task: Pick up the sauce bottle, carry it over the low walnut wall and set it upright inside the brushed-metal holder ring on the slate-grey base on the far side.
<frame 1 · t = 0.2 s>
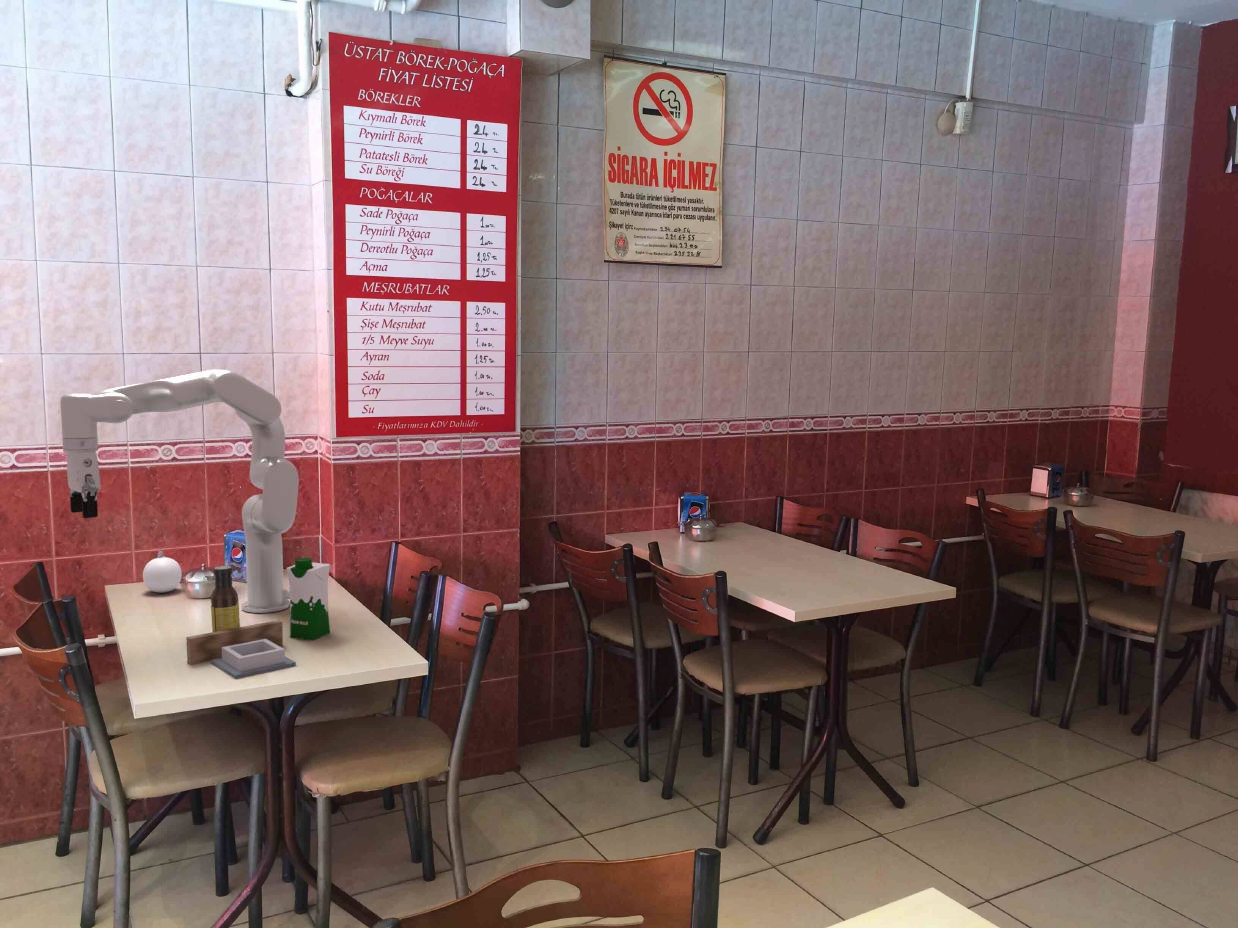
hand: (84, 514, 243), 31 cm above the table, tool pointing down, fingers open, 9 cm apart
ornament: (163, 592, 292), on the table
holder: (253, 664, 229), on the table
walnut wall: (236, 653, 237), on the table
sauce bottle: (226, 648, 241), on the table
milk carton: (310, 635, 252), on the table
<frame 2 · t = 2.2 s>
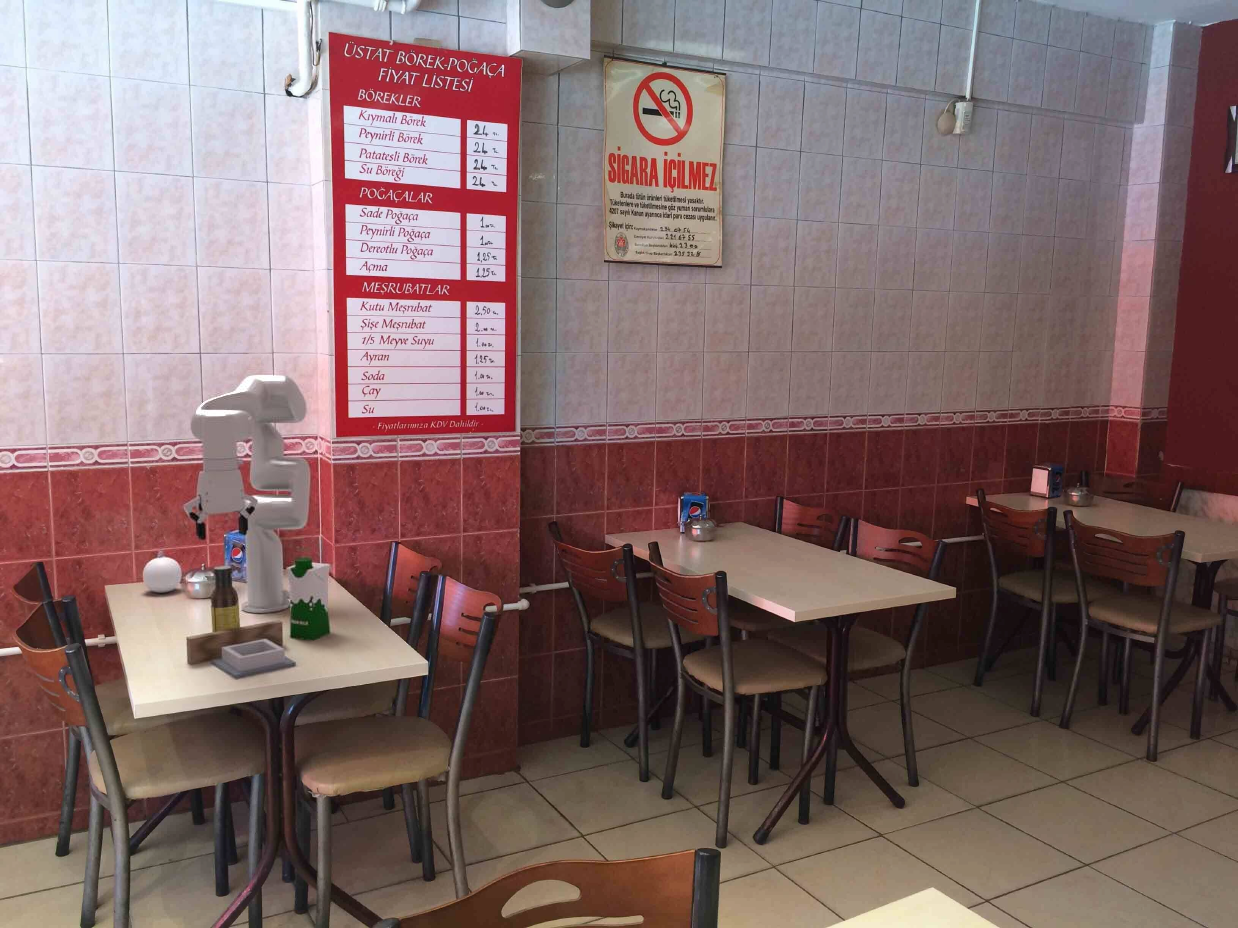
hand: (222, 536, 238), 27 cm above the table, tool pointing down, fingers open, 9 cm apart
nothing on the table moved.
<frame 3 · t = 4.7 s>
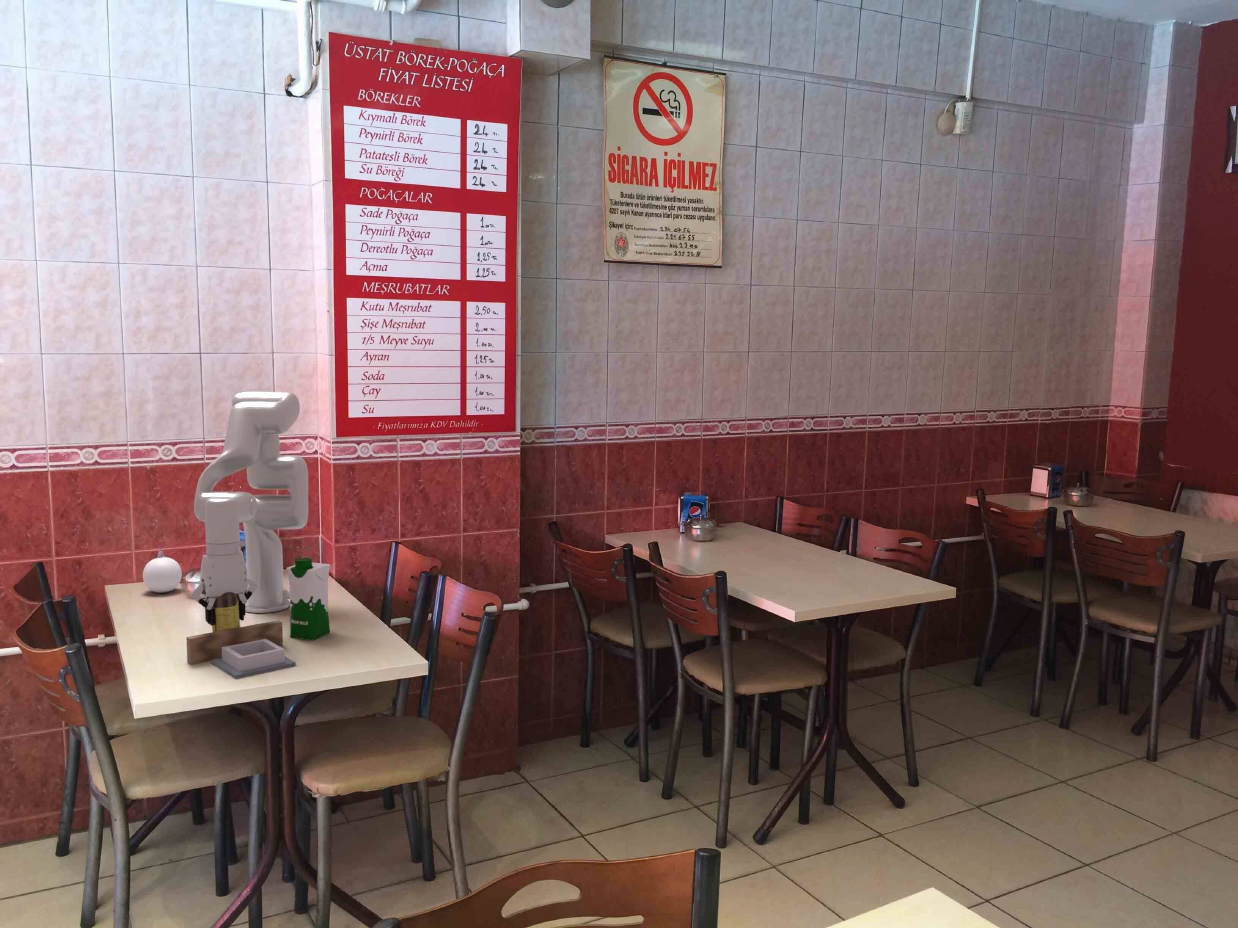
hand: (225, 620, 240), 7 cm above the table, tool pointing down, fingers closed on sauce bottle, 6 cm apart
sauce bottle: (226, 648, 241), on the table, touching gripper
everything else where it was.
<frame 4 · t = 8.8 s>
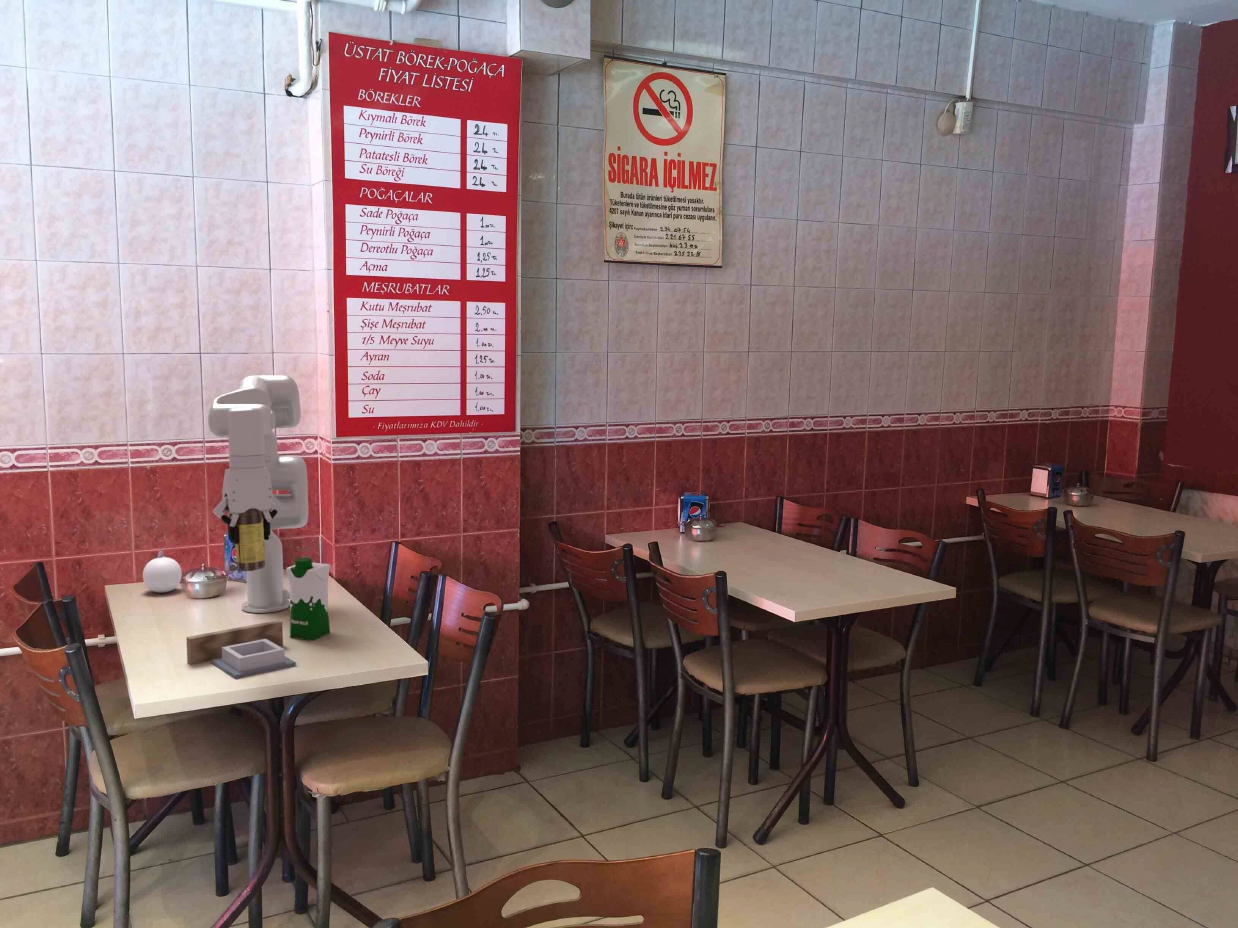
hand: (249, 540, 226), 29 cm above the table, tool pointing down, fingers closed on sauce bottle, 6 cm apart
sauce bottle: (250, 569, 227), point 22 cm above the table, touching gripper
everything else where it was.
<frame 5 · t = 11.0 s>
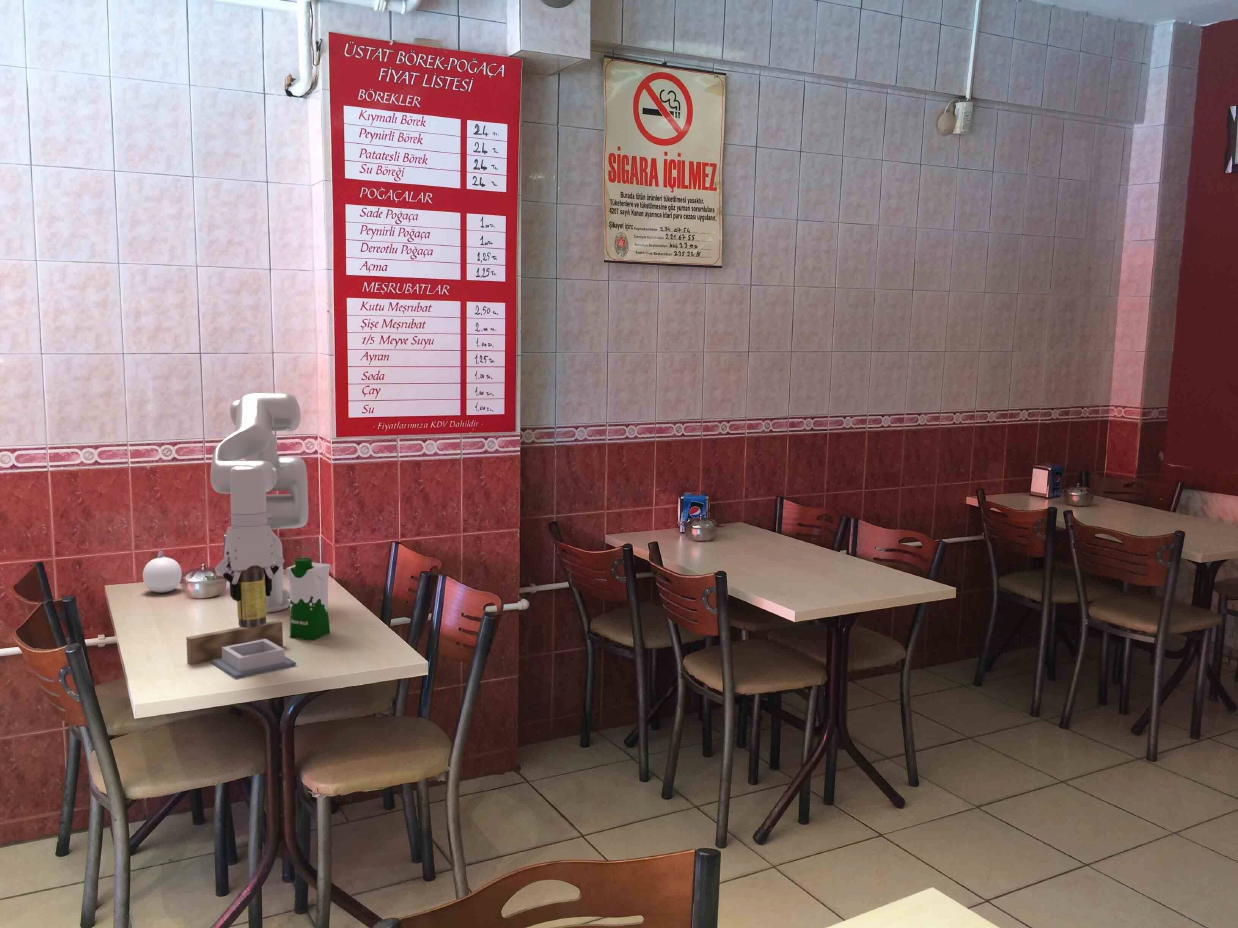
hand: (251, 596, 227), 16 cm above the table, tool pointing down, fingers closed on sauce bottle, 6 cm apart
sauce bottle: (252, 625, 228), point 9 cm above the table, touching gripper
everything else where it was.
when the fingers open (9 cm above the table, at t = 13.0 s): sauce bottle drops 1 cm, resting on holder.
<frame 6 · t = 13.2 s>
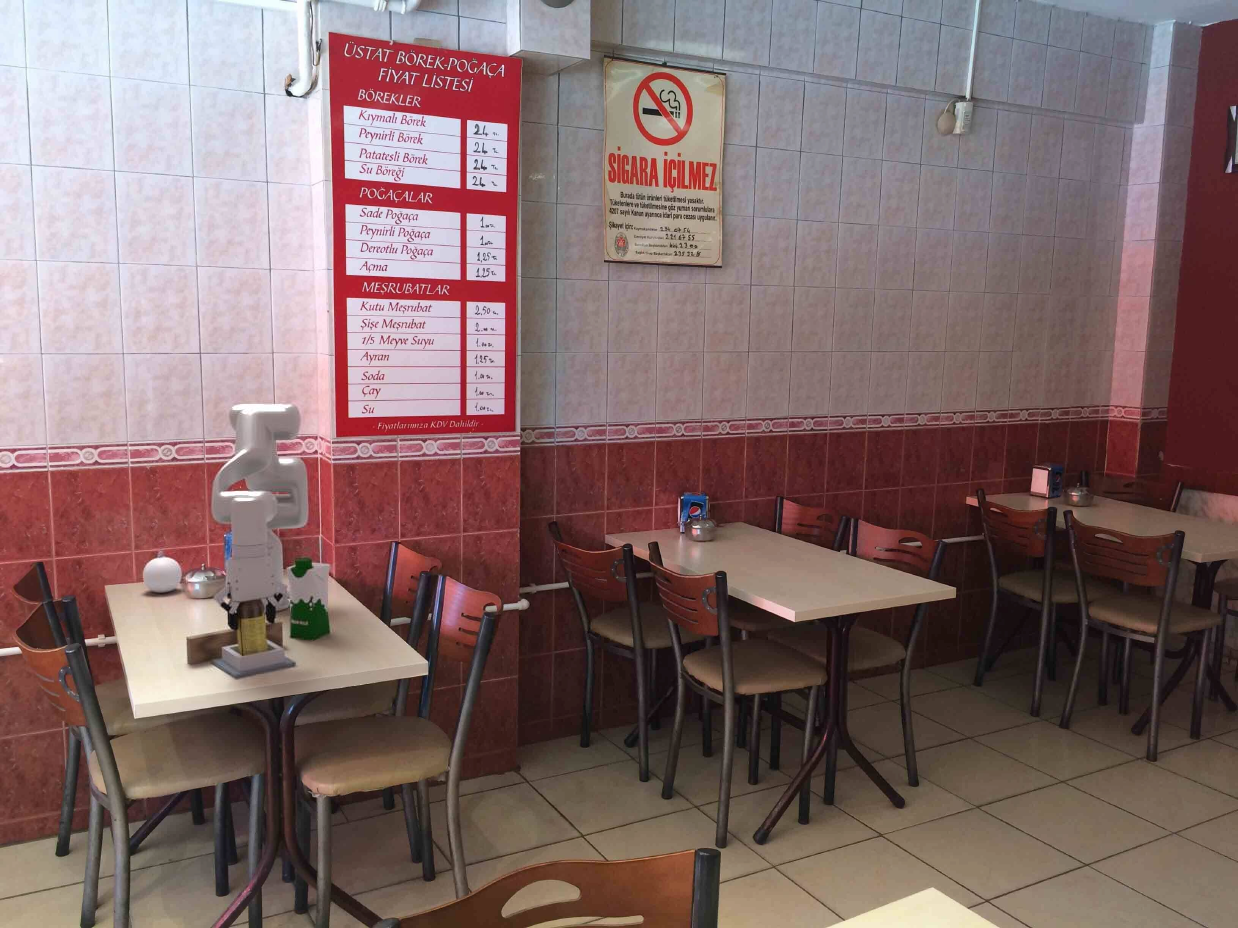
hand: (252, 625, 228), 9 cm above the table, tool pointing down, fingers open, 8 cm apart
sauce bottle: (253, 661, 230), point 1 cm above the table, touching holder
everything else where it was.
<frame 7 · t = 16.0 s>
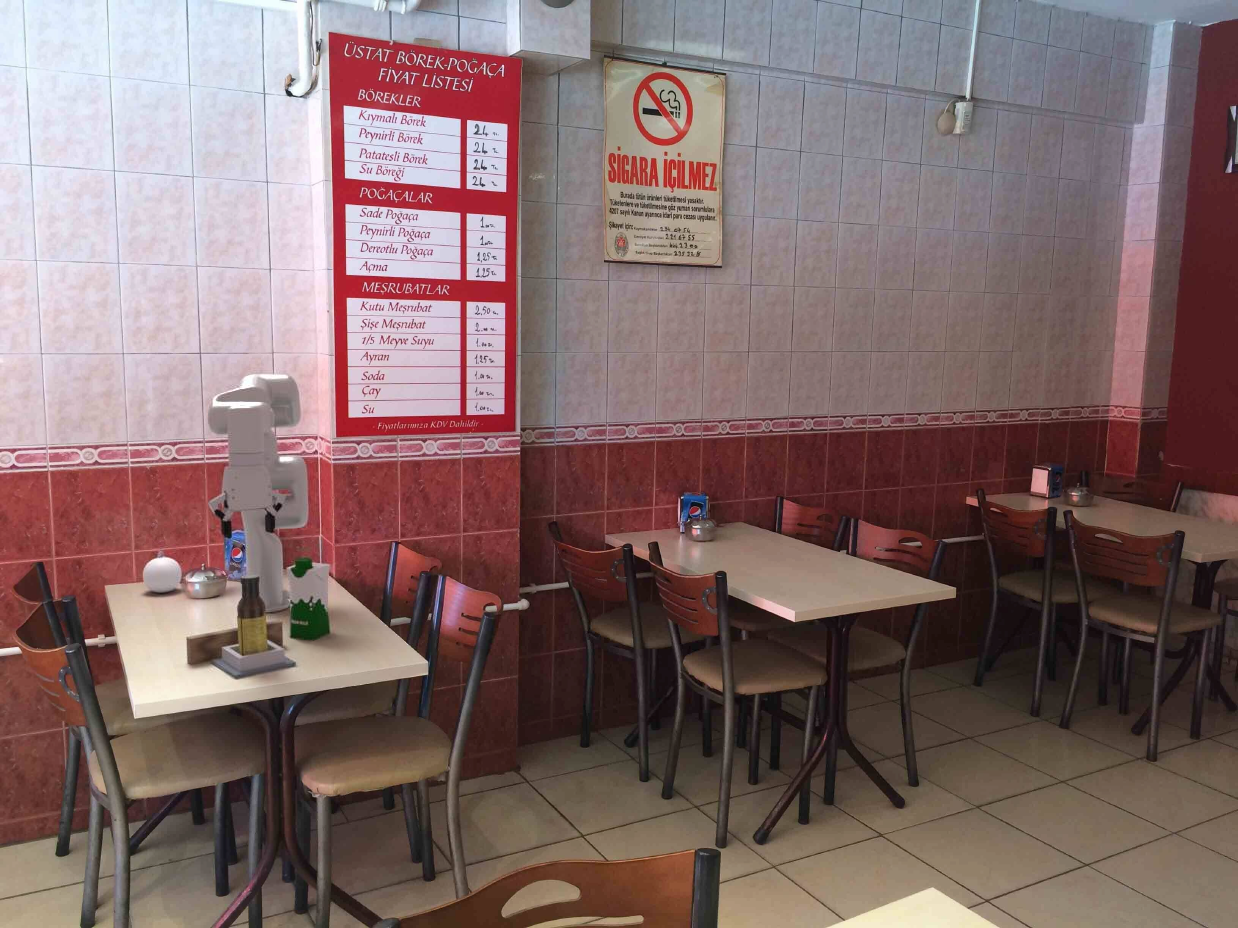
hand: (248, 534, 226), 30 cm above the table, tool pointing down, fingers open, 9 cm apart
nothing on the table moved.
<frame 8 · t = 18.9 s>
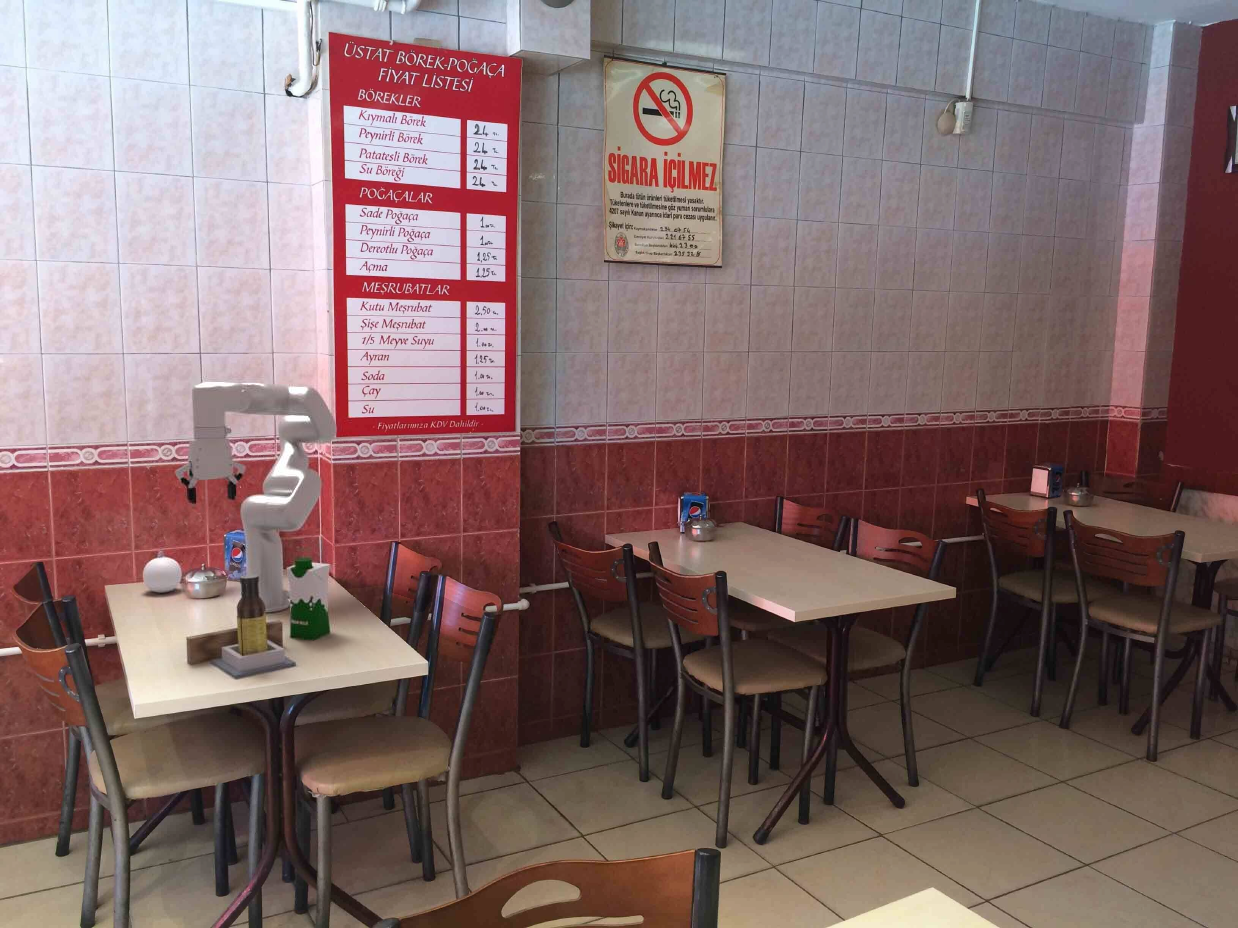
hand: (212, 501, 252), 33 cm above the table, tool pointing down, fingers open, 9 cm apart
nothing on the table moved.
at the end: sauce bottle 0.2 cm off-centre on the holder, point 0.6 cm above the holder's base; sauce bottle tilted 0°; the gripper is holding nothing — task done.
